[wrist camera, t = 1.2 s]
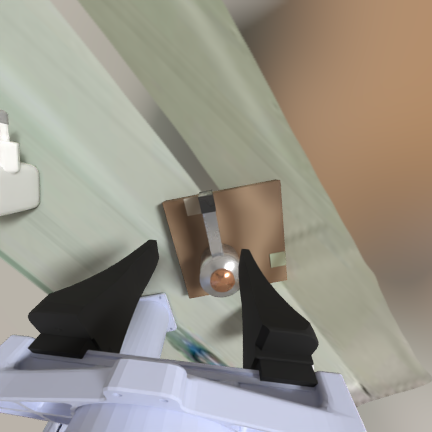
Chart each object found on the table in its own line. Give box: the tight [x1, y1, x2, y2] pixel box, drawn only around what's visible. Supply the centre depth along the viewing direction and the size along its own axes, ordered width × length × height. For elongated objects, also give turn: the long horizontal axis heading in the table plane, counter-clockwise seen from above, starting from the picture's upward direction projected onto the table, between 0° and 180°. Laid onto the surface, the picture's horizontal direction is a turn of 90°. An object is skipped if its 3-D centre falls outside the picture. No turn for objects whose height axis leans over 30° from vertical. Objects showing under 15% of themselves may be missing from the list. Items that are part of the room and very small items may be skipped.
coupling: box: [198, 190, 240, 297], centre depth 21 cm, size 13×6×5 cm, turn 10°
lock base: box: [162, 180, 287, 298], centre depth 25 cm, size 16×16×2 cm
